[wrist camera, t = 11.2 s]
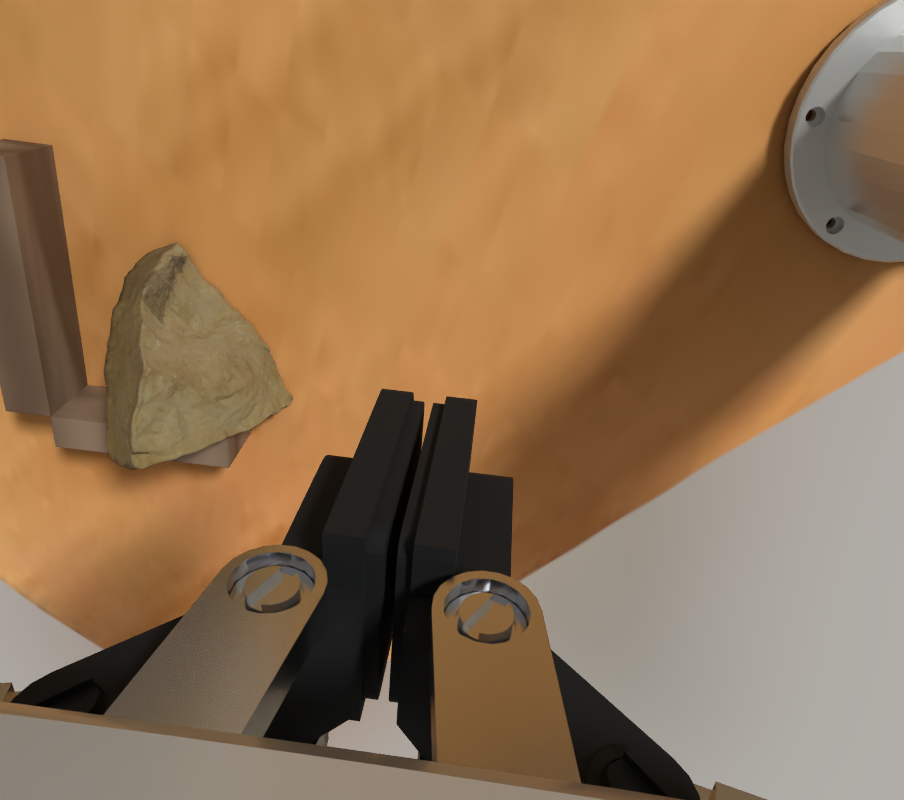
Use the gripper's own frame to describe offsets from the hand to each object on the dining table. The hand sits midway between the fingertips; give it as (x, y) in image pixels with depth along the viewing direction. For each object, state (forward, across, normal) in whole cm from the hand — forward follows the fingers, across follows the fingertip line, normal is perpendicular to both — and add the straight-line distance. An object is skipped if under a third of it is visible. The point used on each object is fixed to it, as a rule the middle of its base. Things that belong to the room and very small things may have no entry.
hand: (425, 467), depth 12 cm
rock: (+26, +15, +9) cm, 31 cm away
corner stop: (+25, +19, +8) cm, 33 cm away
